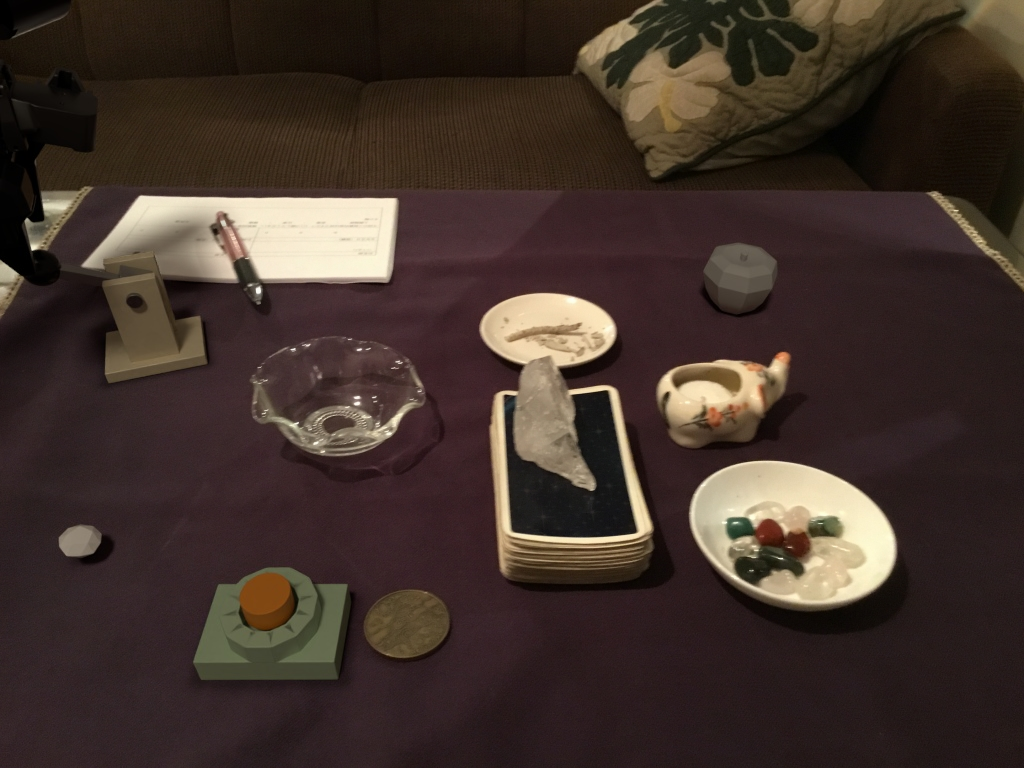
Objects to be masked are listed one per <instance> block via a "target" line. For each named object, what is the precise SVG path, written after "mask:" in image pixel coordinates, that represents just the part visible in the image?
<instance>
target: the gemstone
mask: <svg viewBox="0 0 1024 768" xmlns="http://www.w3.org/2000/svg"><path fill="white" fill-rule="evenodd" d="M101 543H102V532H100V531H99V530H98V528H96V527H95V526H94V525H90V524H89V525H88V524H81V523H80V524H77V525H74V526H71V527H67V528H66V529H65V530H64V532H62V533H61V534H60V536H58V547H59V549H60V550H61V551H62V552H63V554H64V555H65V556H66V557H71V558H78V559H83V558H86V557H88V556H91V555H93V554H94V553H95V552H96V551H97V549H98V548H99V546H100V544H101Z"/></svg>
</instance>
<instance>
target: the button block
mask: <svg viewBox="0 0 1024 768" xmlns="http://www.w3.org/2000/svg"><path fill="white" fill-rule="evenodd" d="M264 573H277V574H280V575H282V576H284V577H285V578H286V579H287V580H288V582H289V584H290V587H291V590H292V594H293V598H294V602H295V607H294V611H293V613H292V615H291V616H290V618H289V619H288V620H287V621H286V622H285V623H284V624H282V625H280V626H278V627H276V628H273V629H269V630H260V629H256V628H254V627H252V626H250V625H249V624H248V623H247V621H246V619H245V616H244V613H243V610H242V608H241V605H240V601H239V596H240V592H241V590H242V588H243V586H244V585H245V584H246V583H247V582H248V581H249V580H250V579H252V578H253V577H255V576H257V575H260V574H264ZM351 605H352V597H351V594H350V588H349V584H348V583H313V582H312V580H311V577H309V576H308V575H306V574H304V573H302V572H300V571H298V570H296V569H294V568H293V567H289V566H288V567H287V566H286V567H285V566H284V567H280V566H279V567H274V566H273V567H271V566H270V567H264V568H262V569H259V570H257V571H255V572H253V573H249V574H247V575H246V576H244V577H242V578H241V579H240V580H239V581H238V582H237V583H220V584H217V588H216V590H215V594H214V597H213V599H212V603H211V606H210V608H209V612H208V615H207V618H206V621H205V624H204V627H203V631H202V633H201V636H200V640H199V643H198V646H197V648H196V651H195V655H194V658H193V661H192V663H193V665H194V668H195V670H196V673H197V675H198V677H199V679H200V680H201V681H257V680H258V681H288V680H289V681H290V680H291V681H295V680H296V681H301V680H303V681H305V680H309V681H310V680H311V681H312V680H313V681H314V680H315V681H316V680H319V681H320V680H321V681H323V680H330V681H331V680H332V681H333V680H335V681H336V680H339V678H340V673H341V666H342V661H343V654H344V648H345V642H346V637H347V631H348V625H349V618H350V612H351V607H352V606H351Z"/></svg>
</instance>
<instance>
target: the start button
mask: <svg viewBox="0 0 1024 768" xmlns="http://www.w3.org/2000/svg"><path fill="white" fill-rule="evenodd" d="M239 601H240V605H241V608H242V610H243V613H244V616H245V619H246V621H247V623H248V624H249V625H250V626H252V627H254V628H256V629H260V630H269V629H273V628H276V627H278V626H280V625H282V624H284V623H285V622H286V621H287V620H288V619H289V618H290V616H291V615H292V613H293V611H294V607H295V602H294V598H293V594H292V590H291V587H290V584H289V582H288V580H287V579H286V578H285V577H284V576H282V575H280V574H277V573H264V574H260V575H257V576H255V577H253V578H252V579H250V580H249V581H248V582H247V583H246V584H245V585H244V586H243V588H242V590H241V592H240V596H239Z"/></svg>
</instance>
